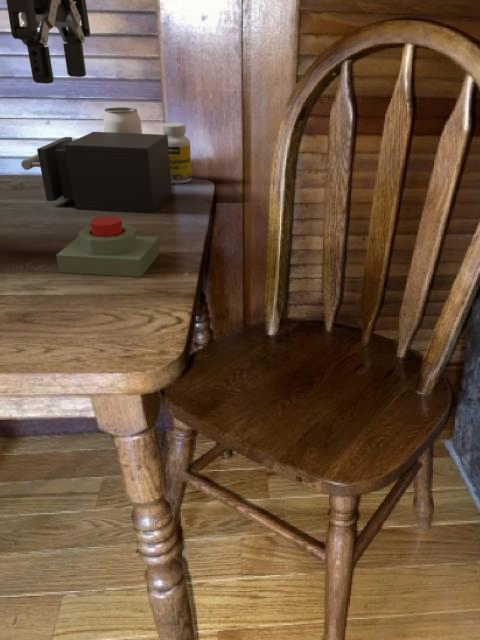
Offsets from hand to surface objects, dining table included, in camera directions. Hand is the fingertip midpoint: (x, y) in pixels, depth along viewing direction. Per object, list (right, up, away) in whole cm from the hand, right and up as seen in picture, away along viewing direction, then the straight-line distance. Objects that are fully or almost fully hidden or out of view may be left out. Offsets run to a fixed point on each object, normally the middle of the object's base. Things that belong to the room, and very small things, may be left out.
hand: (61, 79), depth 70 cm
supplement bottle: (+8, 0, +37) cm, 38 cm away
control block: (+6, -22, +1) cm, 23 cm away
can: (-1, 0, +37) cm, 37 cm away
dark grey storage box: (+1, -8, +24) cm, 26 cm away
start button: (+6, -19, -1) cm, 20 cm away
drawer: (-6, -6, +24) cm, 26 cm away
